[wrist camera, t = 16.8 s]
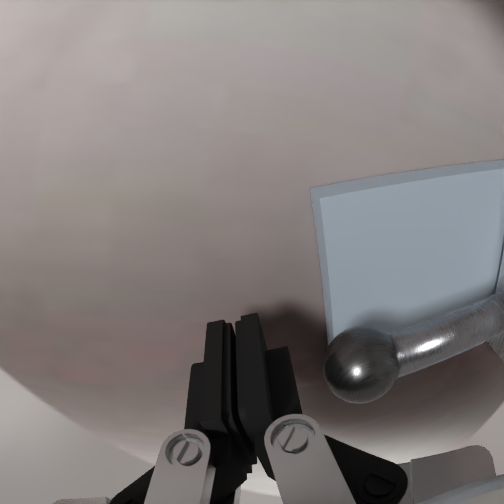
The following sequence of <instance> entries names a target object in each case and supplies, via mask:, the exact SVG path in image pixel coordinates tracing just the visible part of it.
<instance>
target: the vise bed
mask: <svg viewBox="0 0 504 504" xmlns="http://www.w3.org/2000/svg"><path fill="white" fill-rule="evenodd" d="M310 193H311V200H312V207H313V213H314V221H315V228H316V235H317V243H318V251H319V259H320V268H321V276H322V286H323V295H324V305H325V316H326V327H327V339H328V345H329V344H330V342H331V341H332V340H333V339H334V338H335V337H336V336H337V335H338V334H340V333H341V332H343V331H344V330H346V329H349V328H351V327H355V326H373V327H376V328H379V329H381V330H383V331H384V332H386V333H387V334H389V333H392V332H395V331H398V330H401V329H404V328H407V327H410V326H414V325H416V324H419V323H422V322H425V321H428V320H431V319H434V318H437V317H439V316H442V315H445V314H447V313H450V312H453V311H455V310H458V309H461V308H463V307H466V306H468V305H471V304H473V303H476V302H478V301H480V300H483V299H485V298H488V297H490V296H492V295H495V291H496V287H497V282H498V277H499V272H500V267H501V262H502V256H503V250H504V160H496V161H486V162H477V163H469V164H460V165H452V166H444V167H437V168H430V169H423V170H416V171H409V172H402V173H396V174H389V175H383V176H377V177H371V178H365V179H359V180H353V181H347V182H342V183H336V184H331V185H325V186H320V187H314V188H310ZM484 342H486V340H485V341H483V342H481V343H479V344H482V343H484ZM479 344H477V345H479ZM477 345H475V346H477ZM475 346H472V347H470V348H468V349H466V350H464V351H467V350H469V349H471V348H473V347H475ZM464 351H461V352H459V353H457V354H455V355H458V354H460V353H462V352H464ZM455 355H452V356H450V357H448V358H445V359H443V360H440V361H438V362H435V363H433V364H430V365H428V366H425V367H423V368H420V369H417V370H415V371H412V372H409V373H406V374H404V375H401V376H398V377H397V378H399V377H402V376H405V375H408V374H410V373H413V372H416V371H419V370H421V369H424V368H426V367H429V366H431V365H434V364H436V363H439V362H441V361H444V360H446V359H449V358H451V357H453V356H455ZM336 397H337V396H336Z"/></svg>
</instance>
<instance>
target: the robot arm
mask: <svg viewBox="0 0 504 504" xmlns="http://www.w3.org/2000/svg"><path fill="white" fill-rule="evenodd" d="M235 331H236V335H235V332H234V329H233V326H232V324H231V323H225V321H224V320H219V321H214V322H209V323H207V330H206V341H205V352H204V362H202V363H195V364H193V365H192V367H191V373H190V382H189V390H188V399H187V408H186V418H185V428H184V429H183V430H180V431H177V432H174V433H173V434H171V435H170V436H168V438H167V439H166V440H165V441H164V442H163V444H162V446H161V449H160V452H159V455H158V458H157V462H156V465H155V466H154V467H153V468H152V469H150V470H149V471H148V472H146V473H145V474H144V475H142V476H141V477H140V478H139V479H137V480H136V481H134V482H133V483H132V484H130V485H129V486H128V487H126V488H125V489H124V490H122V491H121V492H120V493H118V494H117V495H116V496H115V497H114V498H111V499H109V498H107V497H97V498H80V499H61V500H57V501H56V502H55V503H53V504H239V501H240V493H241V484H242V483H243V482H244V481H245V480H246V479H247V473H252V465H253V464H257V457H258V458H259V460H260V462H261V464H262V466H263V468H264V470H265V472H266V474H267V476H268V477H270V478H271V479H273V480H275V481H276V482H277V486H278V489H279V492H280V495H281V498H282V501H283V504H504V475H498V476H496V473H495V468H494V463H493V458H492V456H491V454H490V452H489V451H488V450H487V449H486V448H485V447H482V446H478V445H476V446H468V447H465V448H461V449H457V450H453V451H450V452H445V453H441V454H437V455H432V456H428V457H423V458H418V459H412V460H411V461H410V462H408V463H402V464H395V463H393V462H390V461H388V460H385V459H382V458H380V457H377V456H374V455H372V454H369V453H367V452H364V451H362V450H359V449H357V448H354V447H352V446H349V445H347V444H345V443H342V442H340V441H338V440H335V439H333V438H331V437H329V436H326V435H324V434H323V432H322V430H321V428H320V426H319V425H318V423H317V422H316V421H315V420H314V419H312V418H311V417H309V416H306V415H303V414H302V410H301V405H300V400H299V396H298V391H297V387H296V382H295V377H294V373H293V368H292V364H291V359H290V355H289V350H288V346H287V347H282V348H278V349H273V350H268V351H267V347H266V344H265V340H264V336H263V332H262V328H261V325H260V321H259V317H258V314H257V313H254V314H249V315H244V316H241V321H236V322H235Z"/></svg>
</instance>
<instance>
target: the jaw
mask: <svg viewBox="0 0 504 504" xmlns="http://www.w3.org/2000/svg"><path fill="white" fill-rule="evenodd" d="M485 340H486V341H487V342H488V344H489V345H490V346H491V347H492V348H493V350H494V351H495V352H496V353H497V354H498V356H499V357H500V358H501V359H502V361H503V362H504V250H503V256H502V262H501V267H500V272H499V277H498V282H497V287H496V291H495V295H492V296H490V297H488V298H485V299H483V300H480V301H478V302H476V303H473V304H471V305H468V306H466V307H463V308H461V309H458V310H455V311H453V312H450V313H447V314H445V315H442V316H439V317H437V318H434V319H431V320H428V321H425V322H422V323H419V324H416V325H414V326H410V327H407V328H404V329H401V330H398V331H395V332H392V333H389V334H387V333H386V332H384V331H383V330H381V329H379V328H376V327H373V326H355V327H351V328H349V329H346V330H344V331H343V332H341V333H340V334H338V335H337V336H336V337H335V338H334V339H333V340H332V341H331V342H330V344H329V345H328V347H327V349H326V351H325V354H324V357H323V362H322V372H323V377H324V380H325V382H326V385H327V386H328V388H329V389H330V391H331V392H332V393H333V394H334V395H335V396H337V397H338V398H340V399H342V400H344V401H346V402H350V403H355V404H363V403H368V402H372V401H374V400H377V399H379V398H380V397H382V396H383V395H384V394H386V393H387V392H388V391H389V390H390V389H391V387H392V386H393V385H394V383H395V382H396V379H397V377H398V376H401V375H404V374H406V373H409V372H412V371H415V370H417V369H420V368H423V367H425V366H428V365H430V364H433V363H435V362H438V361H440V360H443V359H445V358H448V357H450V356H452V355H455V354H457V353H459V352H461V351H464V350H466V349H468V348H470V347H472V346H475V345H477V344H479V343H481V342H483V341H485Z"/></svg>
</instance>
